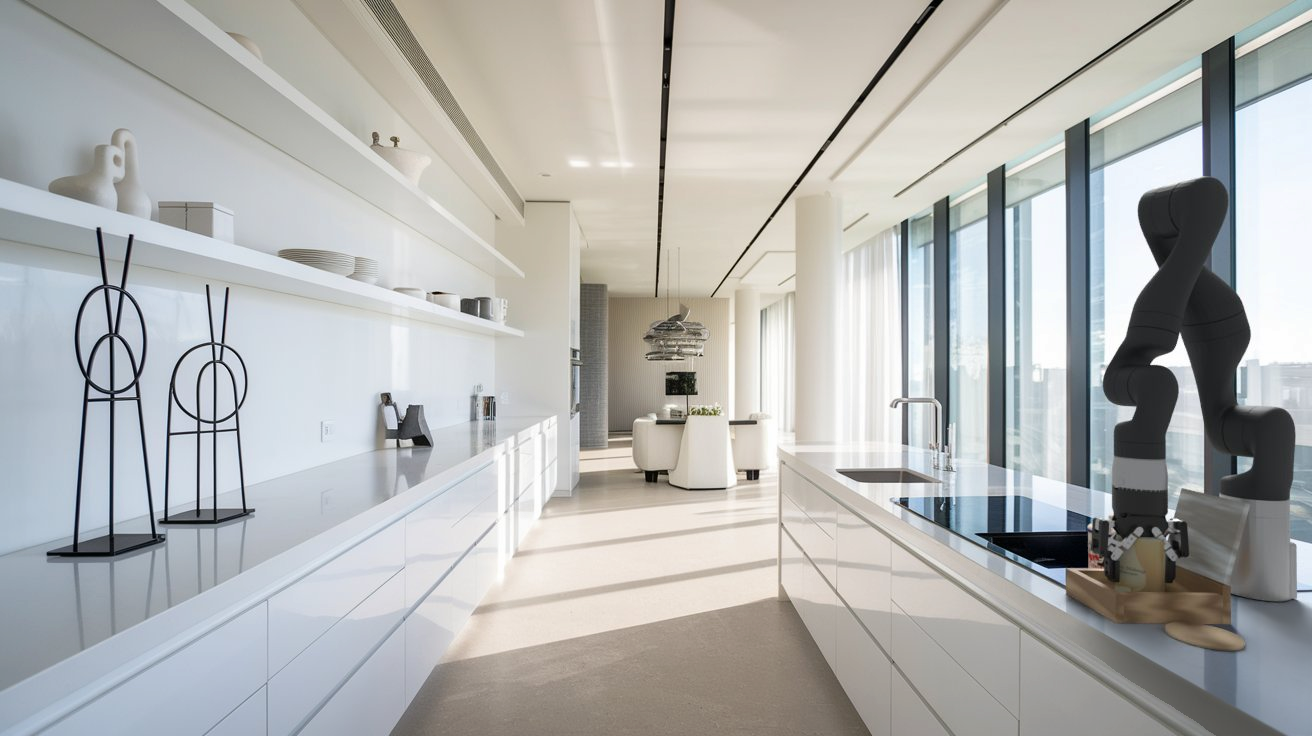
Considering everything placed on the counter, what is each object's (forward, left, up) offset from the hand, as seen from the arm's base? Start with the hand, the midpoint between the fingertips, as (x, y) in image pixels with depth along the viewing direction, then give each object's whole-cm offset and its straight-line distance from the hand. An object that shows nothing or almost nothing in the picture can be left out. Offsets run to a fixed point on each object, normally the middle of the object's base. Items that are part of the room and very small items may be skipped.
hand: (1139, 581), depth 108 cm
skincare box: (0, 0, -5) cm, 5 cm away
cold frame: (-2, -1, -4) cm, 5 cm away
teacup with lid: (-7, -16, -5) cm, 18 cm away
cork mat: (-1, +12, -4) cm, 13 cm away
